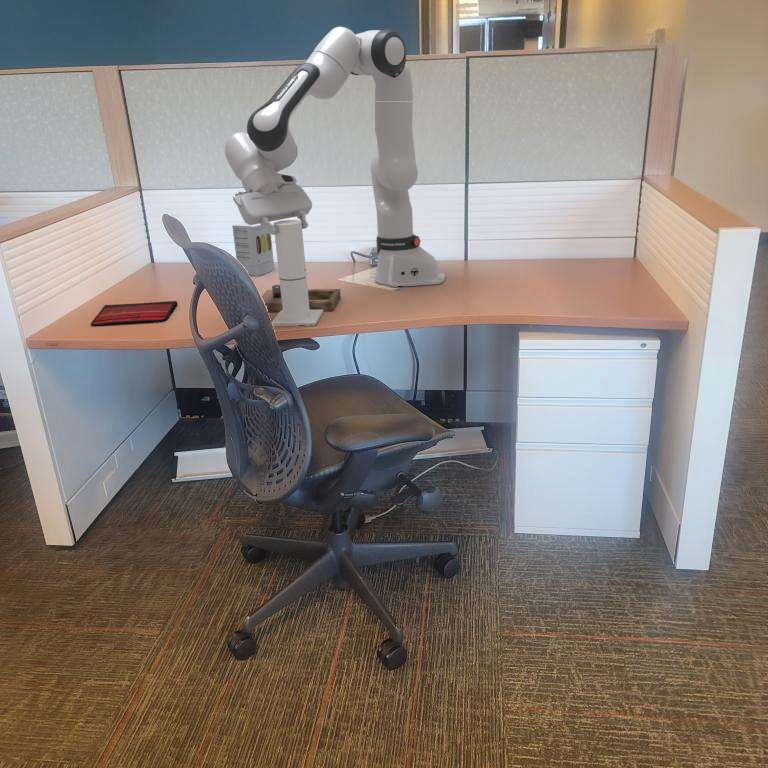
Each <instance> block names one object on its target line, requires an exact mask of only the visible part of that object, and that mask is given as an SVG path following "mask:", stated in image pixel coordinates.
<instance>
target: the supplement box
mask: <svg viewBox="0 0 768 768" xmlns="http://www.w3.org/2000/svg"><path fill="white" fill-rule="evenodd" d="M231 228H232V235H233V241H234V244H233V245H234V251H235V258H236V259H237V260H238V261H239V262H240V263H241V264H242V265H243V266H244V267H245V269H246V270H247V271H248V273H249V274H250V275H249V276H253V277H259V276H263V275H265V274H268V273H271V272H273V270H274V271H276V270H275V261H274V252H273V251H274V250H273V241H272V234H271V233H270V231H269V230H267V229H266V228H264V227H262V226H261V224H254V225H248V224H247V223H245V221H244V222H241V223H236V224H233V225H232V227H231ZM237 260H236V261H237Z"/></svg>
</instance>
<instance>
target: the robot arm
mask: <svg viewBox="0 0 768 768" xmlns="http://www.w3.org/2000/svg"><path fill="white" fill-rule="evenodd" d="M350 74H351V75H354V76H371V77H372V78H373V81H374V84H375V87H374V88H375V89H374V132H375V136H376V142H377V143H376V145H377V151H378V152H377V154H376V155H375V156H374V158H373V159H372V160H371V164H370V175H371V182H372V184H371V185H372V189H373V195H374V197H373V198H374V201H375V203H374V204H375V209H376V221H377V223H376V227H377V236H376V239H375V240H376V242H375V245H376V253H377V266H376V272H375V277H374V281H375V282H376V283H378V284H381V285H385V286H389V287H393V288H398V286H403V287H414V286H428V285H440V284H442V283H443V282H444V281H445V280H446V275H445V273H444V272H443V271H441V270H439V267H438V263H437V260H436V258H435V257H434V256H433V255H432V254H430V253H429V252H428V251H426V250H425V249H424V248H422V247H421V239H420V237H419V235H416V234H414V227H413V226H414V225H413V221H414V220H413V207H412V204H411V200H410V195H409V190H410V189H412V188H413V186H415V184H416V182H417V179H418V176H419V174H418V172H419V171H418V168H417V163H416V162H417V161H416V151H415V143H414V134H413V108H414V106H413V104H414V103H413V101H414V100H413V99H414V98H413V96H414V95H413V94H414V93H413V82H412V73H411V69H410V66H409V65H408V64H407V48H406V45H405V42H404V39H403V37H402V36H401V35H400V34H399V33H398V32H396V31H394V30H391V29H382V30H381V29H380V30H379V29H373V30H372V29H371V30H366V31H364V32H363V31H362V32H359V33H354V31H353V30H351V29H350V28H348V27H345V26H336V27H334V28H332V29H331V30H330V31H329V32H328V33H327V34H326V35H324V37H322V39H321V40H320V41H319V43H318V44H317V46H316V47H315V48H314V50H313V51H312V53H311V54H310V55H309V57H308V58H307V60H306V61H305V62H303V63H301V64H300V65H298V66H297V67H296V68H295V69H294V70H293V71H292V72H291V73H290V75H289V76H288V77H287V78H286V79H285V80H284V82H283V83H282V84H281V85H280V86H279V88H278V89H277V90H276V91H275V92H274V93H273V95H272V96H271V98H270V99H269V100H268V101H267V102H265V103H264V104H263V105H261V106H260V107H258V108H257V109H256V110H254V112H253V113H252V114H251V115H250V116H249V118H248V120H247V124H246V131H247V132H242V131H241V132H240V131H239V132H236V133H234V134H233V135H231V136H230V137H229V138H228V140H227V141H226V142H225V145H224V154H225V158H226V160H227V162H228V164H229V167H230V168H231V170H232V171H233V173H234V174H235V177H237V179H239V180H240V182H241V184H242V187H243V189H244V191H243V190H242V191H237V192H235V194H234V195H233V196H232V199H233V202H234V204H235V205H236V206H237V209H238V211H239V213H240V216H241V217H242V220H243V221H244V222H245V223H247V224H248V225H254V224H261V226H262V227H264V228H266V229H267V230H269V231H270V233H271V236H275V234H278V232H279V229H278V228H277V226H276V225H274V224H273V223H272V222H276V221H282V220H285V219H286V220H287V219H290V218H297V219H298V220H299V221H301V223H302V230H304V229H307V228H308V227H309V223H308V221H307V220H306V216H307V215H308V214H309V213H310V211H311V210H312V208H313V202H312V200H311V199H310V197H309V196H308V194H307V193H306V191H305V190H304V188H303V187H301V186H300V185H299V184H297V179H296V177H295V176H293V175H290V174H289V175H288V174H283V173H279V172H280V171H283V170H284V169H286V168H288V167H290V166H291V165H292V164H293V163H294V162H295V160H296V158H297V157H298V147H297V144H296V141H295V139H294V136H293V134H292V133H291V130H290V119H291V116H292V115H293V114H294V113H295V111H296V110H297V109H298V107H299V106H300V105H301V104H302V103H303V101H304V100H305V99H306V97H308V96H309V95H310V96H312V97H314V98H316V99H319V100H328V99H332V98H333V97H334V96H336V95H337V94H338V93H339V92H340V90H341V89H342V88H343V86H344V84H345V83H346V82H347V79H348V78H349V77H350Z"/></svg>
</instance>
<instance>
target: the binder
mask: <svg viewBox="0 0 768 768" xmlns="http://www.w3.org/2000/svg"><path fill="white" fill-rule="evenodd" d="M174 307H178V301H177V300H169V301H156V302H155V301H154V302H152V301H151V302H140V303H121V304H119V303H118V304H105V305H103V307H102V308H101V310H100V311H99V312H98V313H97V315H96V316H95V317H94V319H92V321H90V326H91V327H103V326H117V325H118V326H119V325H130V324H131V325H132V324H145V323H147V324H148V323H151V324H157V323H159V322H160V323H164V322H166V321H168V320H169V318H170V317H171V316H172V315H173V313H174V312H175V311H174Z"/></svg>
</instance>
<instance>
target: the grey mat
mask: <svg viewBox="0 0 768 768" xmlns="http://www.w3.org/2000/svg"><path fill="white" fill-rule="evenodd" d="M324 312H325V311H323V309H320V310H310V316H309V317H307V318H305V319H300V320H287V319H285V318H284V316H283V310H281V311H280V312H278V313H277V314H276V316H275V317H274V318H273V320H272V321H271V322H272V323H273V325H274V326H273V327H301V326H300V325H306V326H305V327H316V326H317V324H318V323H317V322H320V319H321V318H322V316H323V314H324ZM321 315H322V316H321ZM320 317H321V318H320ZM298 325H299V326H298ZM311 325H312V326H311ZM315 325H316V326H315Z"/></svg>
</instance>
